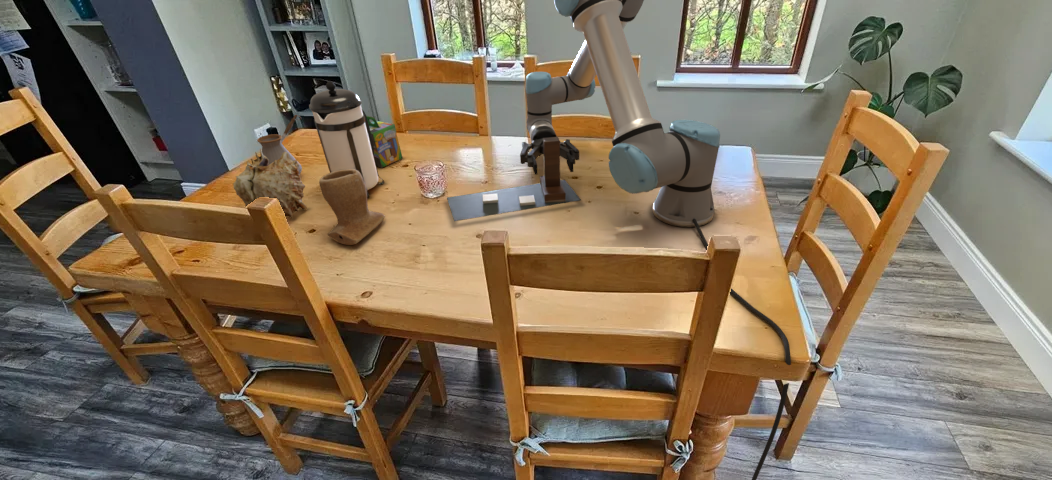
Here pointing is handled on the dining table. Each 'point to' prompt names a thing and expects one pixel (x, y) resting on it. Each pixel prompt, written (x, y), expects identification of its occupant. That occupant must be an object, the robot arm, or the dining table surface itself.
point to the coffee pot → (276, 145)
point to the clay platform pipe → (349, 206)
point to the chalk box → (384, 142)
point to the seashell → (272, 182)
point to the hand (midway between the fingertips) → (553, 168)
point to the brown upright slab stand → (552, 172)
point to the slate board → (502, 201)
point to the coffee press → (345, 133)
